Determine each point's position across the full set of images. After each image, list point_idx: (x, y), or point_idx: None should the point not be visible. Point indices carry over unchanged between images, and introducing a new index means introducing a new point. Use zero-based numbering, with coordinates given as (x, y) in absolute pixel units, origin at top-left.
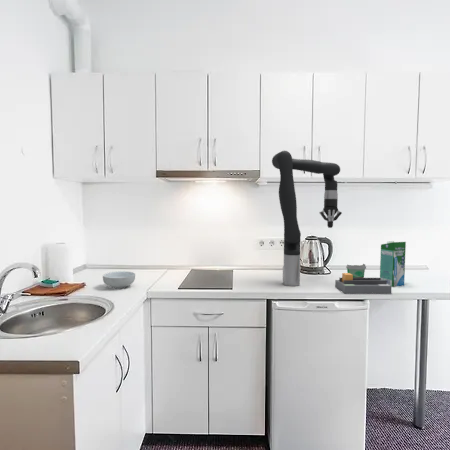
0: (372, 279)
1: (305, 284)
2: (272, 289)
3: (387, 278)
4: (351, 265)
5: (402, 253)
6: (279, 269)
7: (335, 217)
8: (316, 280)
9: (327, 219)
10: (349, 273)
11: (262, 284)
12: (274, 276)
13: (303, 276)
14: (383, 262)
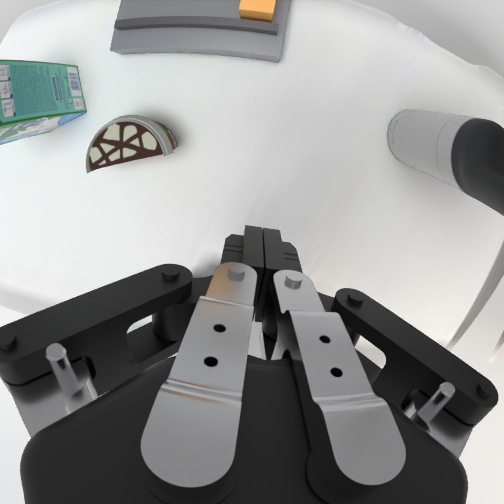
0: (146, 18)
1: (368, 122)
2: (475, 101)
3: (68, 82)
4: (153, 133)
5: None
6: None
7: (157, 306)
8: (298, 173)
9: (336, 296)
10: (244, 2)
11: None
12: (406, 258)
13: (314, 244)
14: (36, 102)
